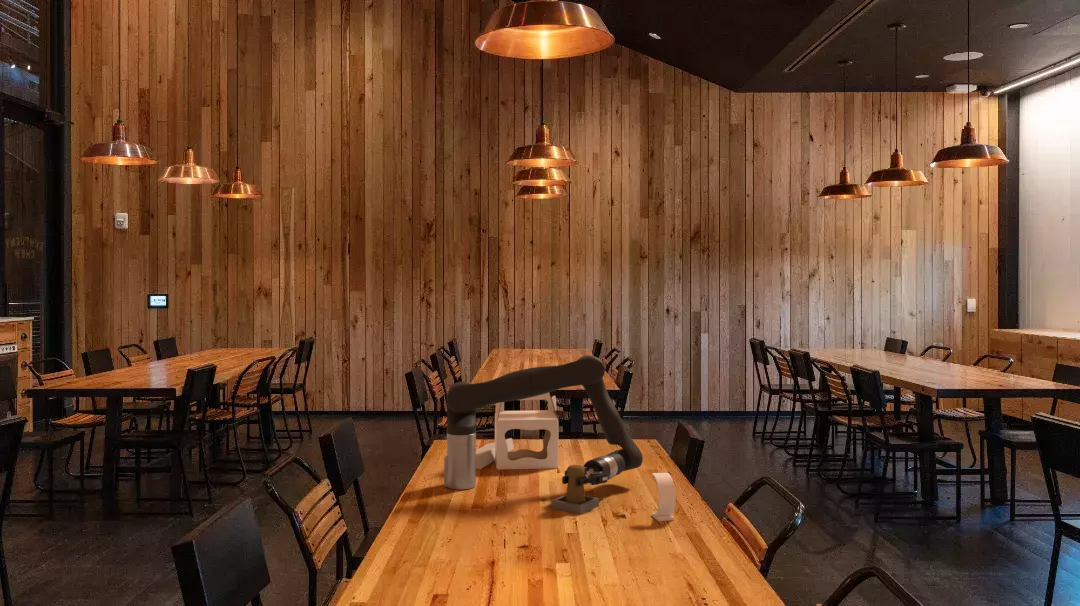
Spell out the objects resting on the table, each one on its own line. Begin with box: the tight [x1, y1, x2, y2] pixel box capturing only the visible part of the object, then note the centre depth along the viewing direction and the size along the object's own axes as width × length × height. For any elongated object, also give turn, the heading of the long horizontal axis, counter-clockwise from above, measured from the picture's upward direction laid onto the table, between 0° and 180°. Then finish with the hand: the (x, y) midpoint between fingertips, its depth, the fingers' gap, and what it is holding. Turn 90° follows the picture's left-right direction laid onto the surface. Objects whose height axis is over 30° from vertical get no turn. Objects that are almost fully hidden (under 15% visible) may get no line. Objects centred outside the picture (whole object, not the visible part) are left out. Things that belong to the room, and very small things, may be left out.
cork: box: [565, 464, 586, 505], centre depth 215 cm, size 6×6×11 cm
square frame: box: [551, 494, 600, 515], centre depth 215 cm, size 10×10×2 cm
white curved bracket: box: [651, 472, 677, 522], centre depth 205 cm, size 5×6×12 cm
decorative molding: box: [476, 437, 515, 470], centre depth 278 cm, size 34×5×10 cm
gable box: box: [494, 392, 559, 471], centre depth 267 cm, size 22×13×28 cm, turn 97°
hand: (570, 481), depth 213 cm, fingers closed on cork, 4 cm apart
